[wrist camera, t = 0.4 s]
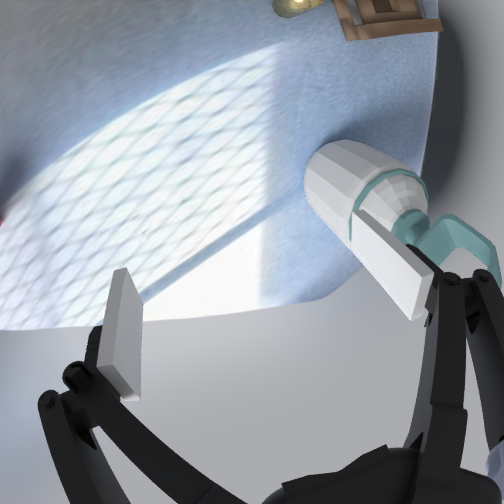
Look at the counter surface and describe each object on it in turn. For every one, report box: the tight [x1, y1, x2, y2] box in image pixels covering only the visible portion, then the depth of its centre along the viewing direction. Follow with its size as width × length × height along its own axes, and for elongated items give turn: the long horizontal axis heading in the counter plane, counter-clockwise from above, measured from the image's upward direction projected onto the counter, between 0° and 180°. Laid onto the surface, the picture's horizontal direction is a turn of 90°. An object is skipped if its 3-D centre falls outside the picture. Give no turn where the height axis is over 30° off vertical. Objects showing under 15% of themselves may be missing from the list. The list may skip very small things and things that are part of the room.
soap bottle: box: [303, 140, 502, 289], centre depth 32 cm, size 12×12×31 cm
